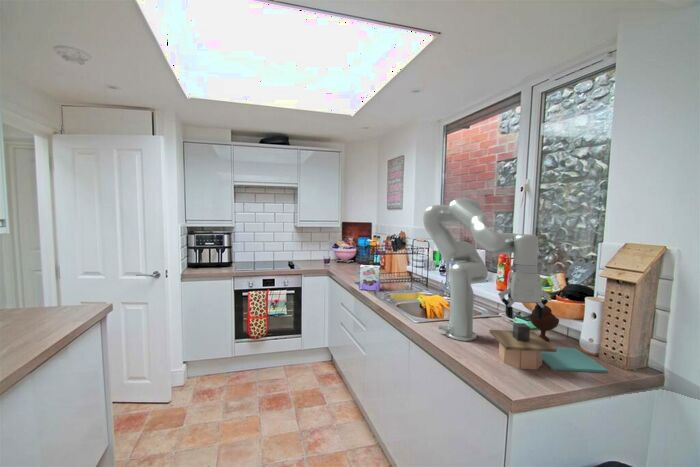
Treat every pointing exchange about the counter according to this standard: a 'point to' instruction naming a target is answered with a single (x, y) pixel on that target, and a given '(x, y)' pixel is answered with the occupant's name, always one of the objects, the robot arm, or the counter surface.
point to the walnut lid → (522, 339)
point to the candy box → (369, 277)
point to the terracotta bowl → (521, 358)
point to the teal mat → (570, 361)
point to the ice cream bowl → (544, 321)
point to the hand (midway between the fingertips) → (523, 317)
